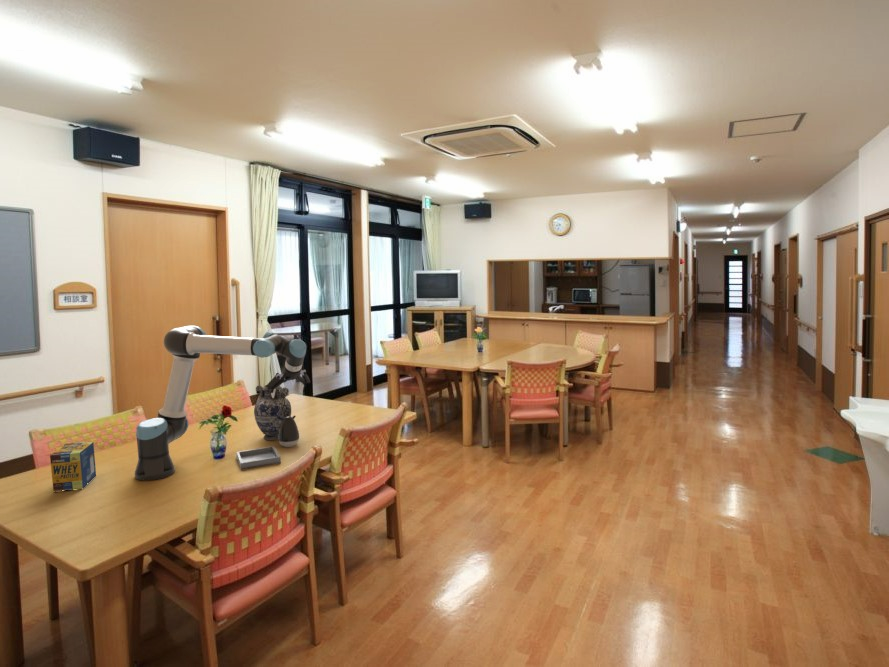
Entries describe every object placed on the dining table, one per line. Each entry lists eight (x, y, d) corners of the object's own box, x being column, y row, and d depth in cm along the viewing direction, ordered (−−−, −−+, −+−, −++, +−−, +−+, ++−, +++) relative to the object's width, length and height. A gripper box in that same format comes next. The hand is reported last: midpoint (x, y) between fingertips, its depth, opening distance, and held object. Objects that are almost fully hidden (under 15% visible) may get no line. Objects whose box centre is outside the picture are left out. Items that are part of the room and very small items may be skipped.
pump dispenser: (304, 443, 267) (303, 414, 265) (290, 450, 257) (288, 419, 255) (288, 441, 271) (287, 412, 269) (274, 447, 261) (272, 417, 260)
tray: (280, 463, 239) (280, 456, 239) (241, 469, 232) (240, 463, 231) (274, 452, 254) (273, 446, 254) (236, 458, 247) (236, 451, 246)
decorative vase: (245, 440, 273) (243, 387, 270) (269, 430, 290) (268, 380, 287) (278, 444, 265) (276, 390, 262) (301, 434, 282) (300, 383, 279)
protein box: (52, 493, 209) (49, 455, 207) (69, 478, 223) (65, 443, 222) (83, 490, 211) (79, 452, 210) (97, 475, 226) (94, 441, 224)
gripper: (267, 376, 232) (262, 404, 246) (321, 368, 245) (313, 395, 260) (263, 363, 236) (258, 391, 250) (317, 356, 249) (309, 383, 263)
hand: (286, 393), depth 255 cm, fingers open, 13 cm apart
